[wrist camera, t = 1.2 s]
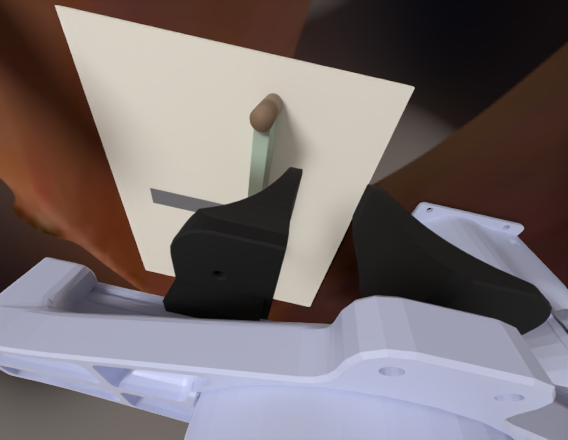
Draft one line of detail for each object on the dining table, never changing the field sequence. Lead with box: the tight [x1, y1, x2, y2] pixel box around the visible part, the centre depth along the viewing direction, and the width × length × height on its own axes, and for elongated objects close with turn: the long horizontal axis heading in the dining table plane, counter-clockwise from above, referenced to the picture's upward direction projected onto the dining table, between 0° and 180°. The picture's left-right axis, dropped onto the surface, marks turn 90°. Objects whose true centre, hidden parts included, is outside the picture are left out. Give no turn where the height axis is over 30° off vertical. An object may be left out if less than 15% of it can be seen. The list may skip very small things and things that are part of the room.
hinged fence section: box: [248, 93, 283, 197], centre depth 18 cm, size 11×1×4 cm, turn 170°
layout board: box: [55, 5, 415, 307], centre depth 24 cm, size 24×28×1 cm
